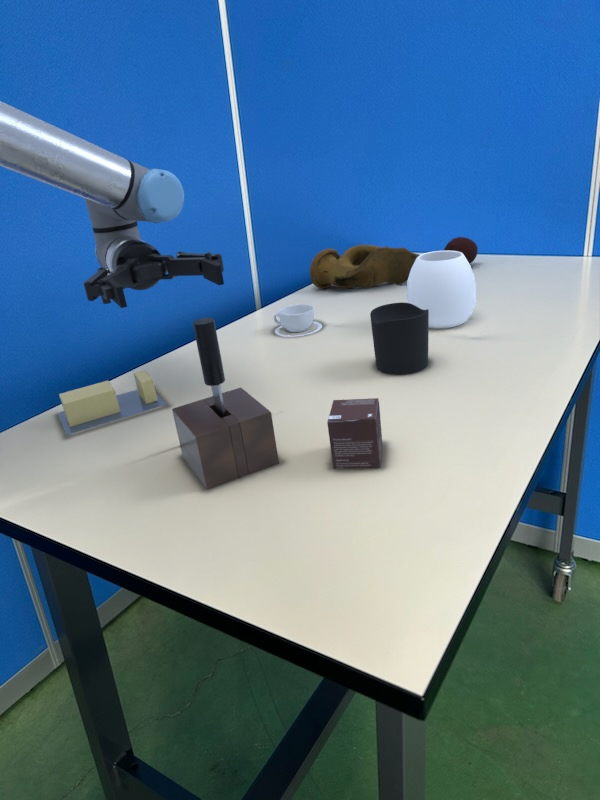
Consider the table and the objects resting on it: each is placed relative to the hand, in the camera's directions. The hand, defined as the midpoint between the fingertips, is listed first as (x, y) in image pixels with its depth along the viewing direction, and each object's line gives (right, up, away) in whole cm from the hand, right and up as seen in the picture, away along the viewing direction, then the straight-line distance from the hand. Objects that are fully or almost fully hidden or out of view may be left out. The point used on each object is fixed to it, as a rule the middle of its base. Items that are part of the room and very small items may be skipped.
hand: (172, 286), depth 83 cm
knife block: (+8, -24, +1) cm, 25 cm away
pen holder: (+34, -10, +23) cm, 43 cm away
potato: (+58, +19, +78) cm, 99 cm away
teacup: (+17, -1, +47) cm, 50 cm away
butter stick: (-17, -17, +18) cm, 30 cm away
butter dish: (-14, -18, +20) cm, 30 cm away
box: (+25, -23, -2) cm, 34 cm away
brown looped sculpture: (+34, +13, +71) cm, 80 cm away
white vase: (+45, 0, +41) cm, 61 cm away
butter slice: (-9, -15, +22) cm, 28 cm away
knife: (+8, -24, +1) cm, 25 cm away
